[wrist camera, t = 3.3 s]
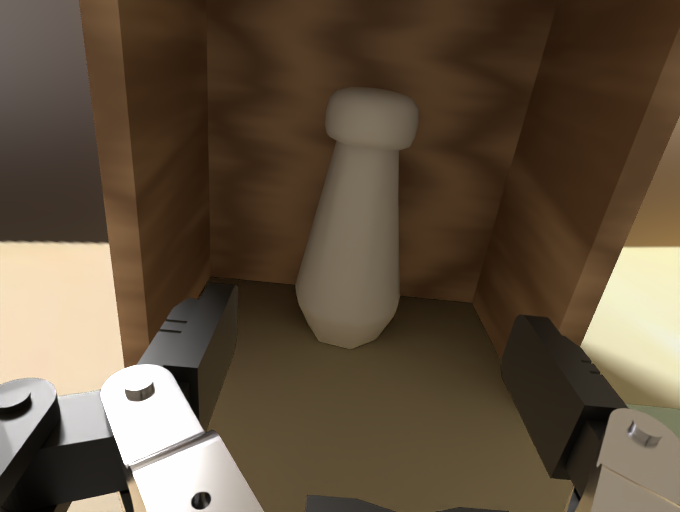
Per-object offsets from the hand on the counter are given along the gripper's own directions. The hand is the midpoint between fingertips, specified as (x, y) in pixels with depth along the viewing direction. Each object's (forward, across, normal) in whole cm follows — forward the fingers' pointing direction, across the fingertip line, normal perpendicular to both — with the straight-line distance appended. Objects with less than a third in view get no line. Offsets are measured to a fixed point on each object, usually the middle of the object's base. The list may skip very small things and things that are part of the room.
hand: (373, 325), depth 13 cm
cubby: (+11, 0, +8) cm, 13 cm away
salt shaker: (+11, 0, +8) cm, 13 cm away
